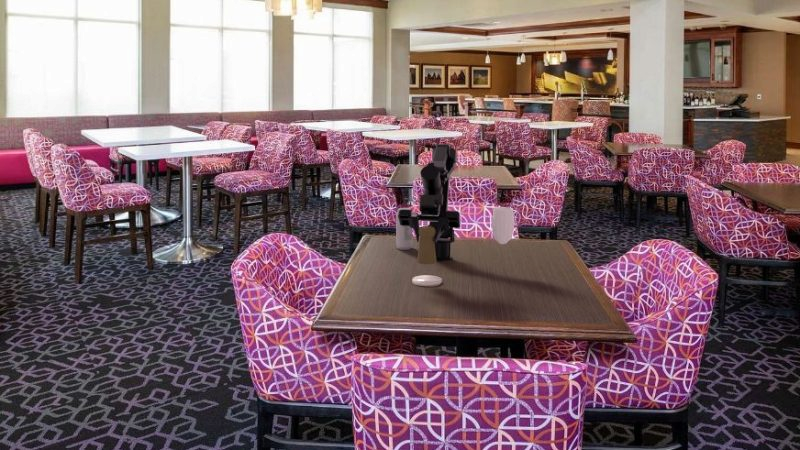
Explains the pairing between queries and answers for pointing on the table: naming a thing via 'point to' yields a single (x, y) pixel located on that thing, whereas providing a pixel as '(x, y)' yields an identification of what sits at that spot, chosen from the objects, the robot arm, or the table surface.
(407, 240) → the energy drink can
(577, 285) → the table surface
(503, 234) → the cup
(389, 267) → the table surface
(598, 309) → the table surface
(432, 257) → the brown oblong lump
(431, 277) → the coaster
